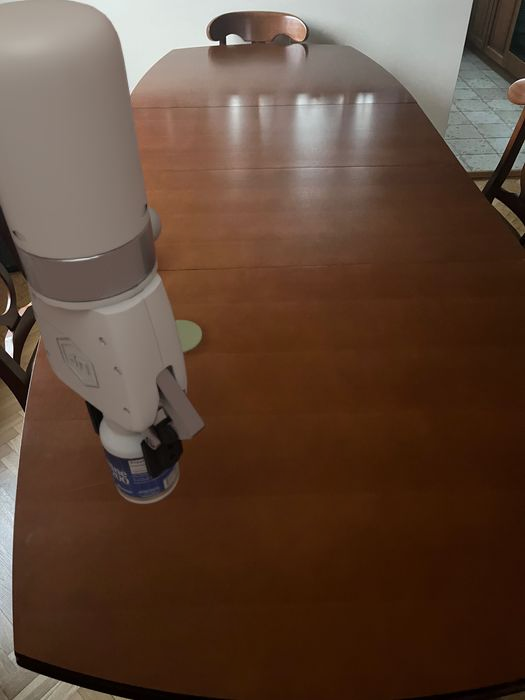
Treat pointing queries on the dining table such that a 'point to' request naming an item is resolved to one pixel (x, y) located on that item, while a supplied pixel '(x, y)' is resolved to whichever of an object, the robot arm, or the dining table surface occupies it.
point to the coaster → (188, 334)
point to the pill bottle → (134, 463)
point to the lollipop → (155, 223)
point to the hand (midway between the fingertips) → (138, 442)
